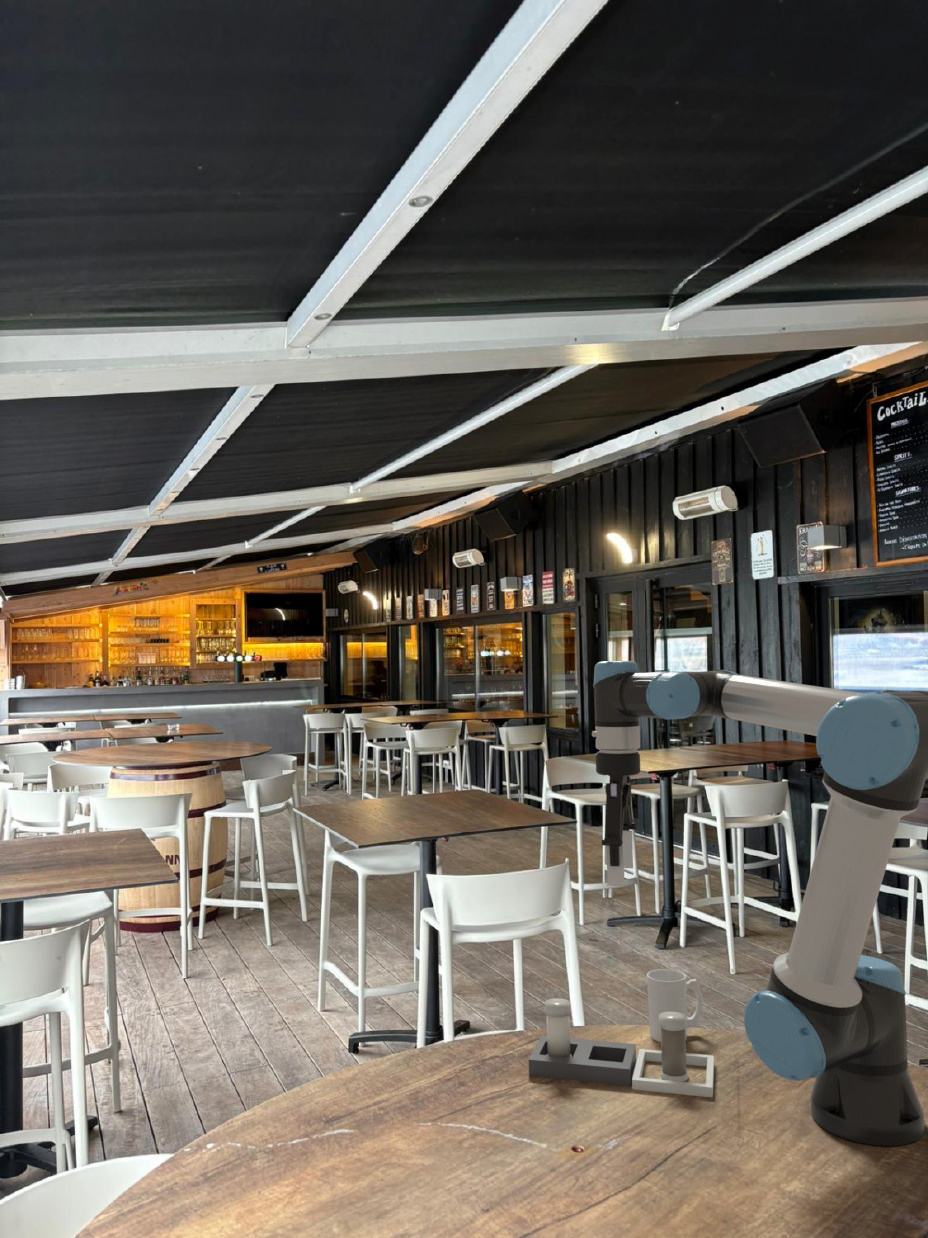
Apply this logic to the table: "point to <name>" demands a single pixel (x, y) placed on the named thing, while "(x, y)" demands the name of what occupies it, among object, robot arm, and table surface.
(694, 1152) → the table surface
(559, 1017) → the peg
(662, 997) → the mug
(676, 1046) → the fuse
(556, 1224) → the table surface
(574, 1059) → the block
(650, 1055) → the tray
